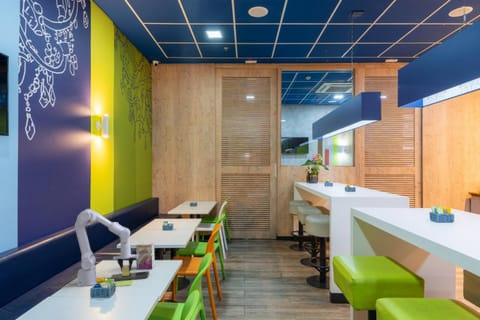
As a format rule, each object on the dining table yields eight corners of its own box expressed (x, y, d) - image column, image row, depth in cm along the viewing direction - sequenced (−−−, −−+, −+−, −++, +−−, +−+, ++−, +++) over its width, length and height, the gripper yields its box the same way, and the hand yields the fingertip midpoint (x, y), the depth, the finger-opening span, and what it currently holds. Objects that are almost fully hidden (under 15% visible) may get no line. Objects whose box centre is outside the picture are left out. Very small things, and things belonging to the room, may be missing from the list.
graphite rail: (109, 282, 181) (109, 278, 181) (112, 277, 188) (112, 274, 188) (147, 278, 184) (147, 275, 184) (149, 274, 191) (149, 271, 191)
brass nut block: (122, 276, 183) (122, 267, 183) (123, 274, 187) (123, 265, 187) (129, 275, 184) (128, 266, 184) (130, 273, 188) (130, 264, 188)
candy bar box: (136, 269, 201) (135, 245, 201) (139, 266, 206) (138, 243, 206) (152, 269, 200) (151, 244, 200) (155, 266, 205) (154, 242, 205)
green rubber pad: (113, 287, 173) (113, 286, 173) (116, 282, 180) (116, 281, 180) (131, 285, 174) (131, 284, 174) (133, 280, 181) (133, 279, 181)
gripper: (138, 246, 191) (139, 267, 191) (114, 247, 188) (115, 269, 188) (136, 249, 184) (137, 271, 184) (111, 251, 181) (112, 273, 181)
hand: (126, 270), depth 185 cm, fingers closed on brass nut block, 4 cm apart
